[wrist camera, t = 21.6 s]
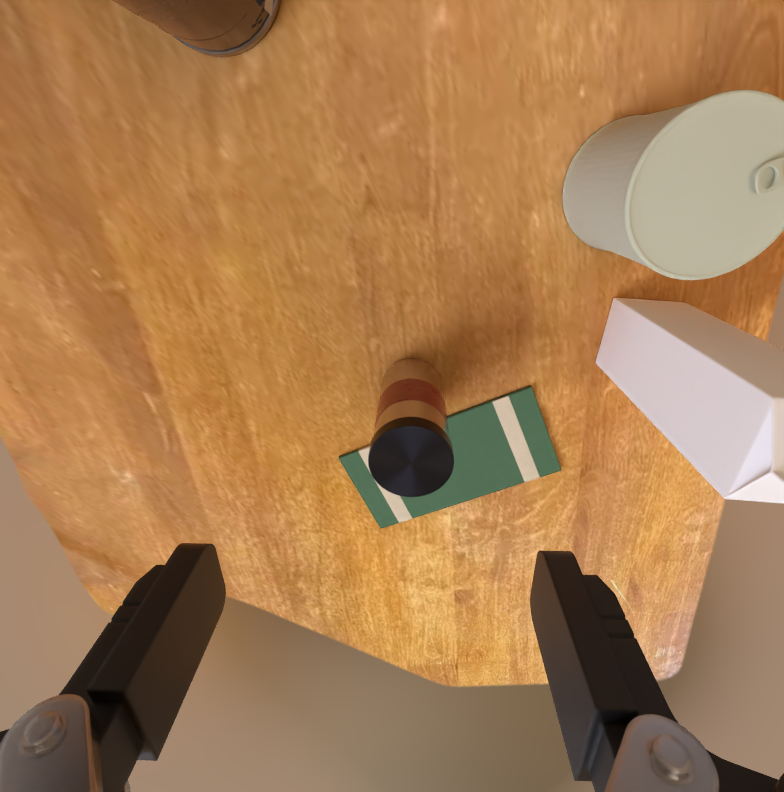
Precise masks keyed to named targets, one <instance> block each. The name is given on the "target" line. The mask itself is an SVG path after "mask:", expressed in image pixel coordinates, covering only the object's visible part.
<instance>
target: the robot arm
mask: <svg viewBox="0 0 784 792" xmlns="http://www.w3.org/2000/svg"><path fill="white" fill-rule="evenodd" d="M112 1H114V2H116V3H117V4H119V5H121V6H123V7H124V8H126V9H128V10H130V11H131V12H133V13H135V14H137V15H138V16H140V17H142V18H144V19H145V20H147V21H149V22H151V23H152V24H154V25H156V26H158V27H159V28H161V29H162V30H164V31H166V32H167V33H169V34H171V35H173V36H174V37H175V38H176V39H178V40H179V41H181V42H182V43H183V44H185V45H187V46H189V47H191V48H192V49H194V50H196V51H198V52H201V53H203V54H207V55H211V56H217V57H228V56H234V55H238V54H241V53H243V52H245V51H247V50H249V49H250V48H252V47H253V46H255V45H256V44H257V43H258V42H259V41H260V40H261V39H262V38H263V37H264V36H265V34H266V33H267V32H268V30H269V29H270V27H271V25H272V23H273V21H274V19H275V17H276V14H277V12H278V8H279V5H280V1H281V0H112ZM225 595H226V589H225V583H224V579H223V576H222V572H221V568H220V564H219V560H218V556H217V552H216V549H215V547H214V545H213V544H195V543H182V544H180V545H178V546H177V547H176V549H175V550H174V552H173V553H172V555H171V557H170V558H169V560H168V561H167V563H166V564H165V565H156V566H155V567H153V568H152V569H151V570H150V571H149V572H147V573H146V574H145V575H144V576H143V577H142V578H140V579H139V580H138V581H137V582H136V583H135V585H134V586H133V588H132V589H131V591H130V592H129V594H128V595H127V597H126V598H125V599H124V601H123V605H122V606H120V607H119V608H118V610H117V611H116V613H115V614H114V616H113V617H112V621H111V623H108V625H107V626H106V627H105V629H104V630H103V632H102V633H101V635H100V636H99V638H98V639H97V641H96V642H95V644H94V645H93V647H92V648H91V650H90V651H89V653H88V654H87V655H86V657H85V659H84V660H83V661H82V663H81V664H80V666H79V667H78V669H77V670H76V672H75V673H74V675H73V676H72V677H71V679H70V680H69V682H68V684H67V685H66V686H65V688H64V689H63V690H62V692H61V693H60V694H59V695H58V696H55V697H52V698H49V699H47V700H45V701H43V702H41V703H39V704H37V705H36V706H34V707H33V708H32V709H30V710H29V711H27V712H26V713H25V714H24V715H23V716H21V717H20V719H18V720H17V721H16V722H15V723H14V725H13V726H12V727H11V728H10V729H8V730H5V731H1V732H0V792H130V786H129V782H128V778H129V776H130V774H131V772H132V770H133V767H134V765H135V763H136V761H137V760H153V761H155V760H156V761H157V759H158V757H159V755H160V752H161V750H162V748H163V746H164V743H165V741H166V739H167V737H168V734H169V732H170V729H171V727H172V725H173V723H174V720H175V718H176V716H177V714H178V711H179V709H180V706H181V705H182V702H183V700H184V698H185V695H186V693H187V691H188V688H189V686H190V684H191V682H192V680H193V677H194V675H195V673H196V670H197V668H198V666H199V664H200V661H201V659H202V657H203V654H204V652H205V650H206V647H207V645H208V643H209V641H210V638H211V636H212V634H213V632H214V629H215V627H216V625H217V622H218V620H219V618H220V616H221V613H222V610H223V607H224V603H225ZM530 606H531V615H532V621H533V625H534V629H535V632H536V636H537V640H538V644H539V647H540V651H541V655H542V659H543V663H544V666H545V670H546V674H547V678H548V682H549V685H550V689H551V693H552V697H553V700H554V704H555V708H556V712H557V716H558V719H559V723H560V727H561V731H562V735H563V738H564V742H565V746H566V749H567V753H568V757H569V761H570V765H571V769H572V772H573V776H574V780H575V781H592V783H593V787H594V790H595V792H784V774H783V775H782V776H781V777H780V779H779V780H777V779H775V778H772V777H769V776H766V775H764V774H761V773H758V772H756V771H753V770H750V769H747V768H745V767H742V766H739V765H737V764H734V763H731V762H729V761H726V760H724V759H721V758H720V757H718V756H716V755H714V754H712V753H711V752H709V751H708V750H706V749H705V748H704V746H703V745H702V744H701V743H700V741H698V739H697V738H696V737H695V736H694V735H693V734H691V733H690V732H689V731H688V730H686V728H684V727H682V726H681V725H680V724H679V723H678V722H677V720H676V719H675V718H674V716H673V714H672V712H671V711H670V709H669V707H668V705H667V703H666V700H665V698H664V696H663V694H662V692H661V690H660V688H659V686H658V684H657V682H656V679H655V677H654V675H653V673H652V671H651V669H650V667H649V665H648V663H647V660H646V658H645V656H644V654H643V652H642V650H641V648H640V646H639V644H638V642H637V639H635V638H634V633H633V631H632V629H631V627H630V625H629V623H628V621H627V620H626V619H625V614H624V612H623V610H622V608H621V606H620V604H619V602H618V600H617V597H616V595H615V594H614V593H613V592H612V590H611V589H610V588H609V587H608V586H607V585H606V584H605V583H604V582H603V581H602V580H601V579H600V578H599V577H598V576H597V575H582V572H581V570H580V567H579V565H578V563H577V560H576V558H575V556H574V554H573V553H572V552H571V551H539V552H538V554H537V558H536V564H535V570H534V576H533V583H532V589H531V596H530Z"/></svg>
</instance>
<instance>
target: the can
mask: <svg viewBox="0 0 784 792" xmlns="http://www.w3.org/2000/svg"><path fill="white" fill-rule="evenodd" d="M563 209H564V214H565V217H566V220H567V222H568V224H569V226H570V228H571V230H572V231H573V232H574V234H575V235H576V236H577V237H578V238H579V239H580V240H582V241H583V242H584V243H586V244H587V245H589V246H591V247H594V248H597V249H600V250H605V251H611V252H613V253H616V254H619V255H621V256H623V257H626V258H628V259H631V260H633V261H636V262H638V263H640V264H642V265H645V266H647V267H649V268H651V269H652V270H654V271H656V272H657V273H659V274H662V275H664V276H667V277H670V278H674V279H681V280H700V279H707V278H712V277H716V276H719V275H722V274H725V273H728V272H730V271H732V270H735V269H737V268H739V267H740V266H742V265H744V264H746V263H747V262H749V261H750V260H752V259H753V258H755V257H756V256H758V255H759V254H760V253H761V252H763V251H764V250H765V249H766V248H767V247H768V246H769V245H770V244H771V243H772V242H773V241H775V240H776V238H777V237H778V236H779V235H780V234H781V233H782V231H783V230H784V101H783V100H782V99H780V98H778V97H776V96H774V95H771V94H769V93H766V92H761V91H756V90H733V91H727V92H723V93H719V94H715V95H713V96H710V97H707V98H705V99H703V100H700V101H697V102H694V103H690V104H686V105H682V106H679V107H675V108H671V109H667V110H664V111H660V112H656V113H652V114H647V115H633V116H628V117H624V118H620V119H618V120H615V121H613V122H611V123H609V124H607V125H605V126H604V127H602V128H601V129H599V130H598V131H597V132H595V133H594V134H593V135H592V136H591V137H590V138H589V139H588V140H587V141H586V142H585V143H584V144H583V145H582V146H581V148H580V149H579V150H578V152H577V153H576V155H575V157H574V158H573V160H572V162H571V164H570V166H569V168H568V171H567V174H566V177H565V181H564V186H563Z"/></svg>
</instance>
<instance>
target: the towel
mask: <svg viewBox="0 0 784 792" xmlns="http://www.w3.org/2000/svg"><path fill="white" fill-rule="evenodd" d="M447 423H448V433H449V438H450V440H451V443H452V448H453V455H454V468H453V472H452V474H451V476H450V478H449V479H448V481H447V482H446V483H445V484H444V485H443V486H442V487H441V488H440V489H438V490H437V491H435V492H433V493H431V494H428V495H425V496H420V497H403V496H399V495H395V494H393V493H390V492H388V491H387V490H385V489H384V488H382V487H381V486H380V485H379V484H378V483H377V482H376V481H375V480H374V478H373V476H372V475H371V472H370V470H369V466H368V456H369V450H370V445H369V446H366V447H363V448H361V449H358V450H355V451H353V452H350V453H347V454H345V455H342V456H339V460H340V461H341V463H342V465H343V466H344V468H345V470H346V471H347V473H348V475H349V476H350V478H351V480H352V481H353V483H354V485H355V486H356V488H357V490H358V491H359V493H360V495H361V496H362V498H363V500H364V501H365V503H366V505H367V506H368V508H369V510H370V511H371V513H372V515H373V516H374V518H375V520H376V521H377V523H378V525H379V526H380V528H384V527H387V526H390V525H394V524H397V523H400V522H403V521H406V520H409V519H412V518H415V517H418V516H421V515H425V514H428V513H431V512H434V511H437V510H440V509H443V508H446V507H449V506H452V505H456V504H459V503H462V502H465V501H468V500H471V499H474V498H477V497H480V496H483V495H487V494H490V493H493V492H496V491H499V490H502V489H505V488H508V487H511V486H514V485H518V484H521V483H524V482H527V481H530V480H533V479H537V478H540V477H542V476H545V475H549V474H552V473H555V472H558V471H561V467H560V465H559V462H558V459H557V456H556V453H555V451H554V448H553V445H552V442H551V439H550V437H549V434H548V431H547V428H546V425H545V423H544V420H543V417H542V414H541V411H540V409H539V406H538V403H537V400H536V398H535V395H534V392H533V389H532V387H531V386H528V387H526V388H523V389H520V390H517V391H515V392H512V393H509V394H507V395H504V396H501V397H499V398H496V399H493V400H490V401H488V402H485V403H482V404H480V405H477V406H474V407H472V408H469V409H466V410H463V411H461V412H458V413H455V414H453V415H450V416H447Z"/></svg>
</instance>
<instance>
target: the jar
mask: <svg viewBox="0 0 784 792" xmlns="http://www.w3.org/2000/svg"><path fill="white" fill-rule="evenodd" d="M368 466H369V470H370V472H371V475H372V476H373V478H374V480H375V481H376V482H377V483H378V484H379V485H380V486H381V487H382V488H384V489H385V490H387V491H388V492H390V493H393V494H395V495H399V496H403V497H420V496H425V495H428V494H431V493H433V492H435V491H437V490H438V489H440V488H441V487H442V486H443V485H444V484H445V483H446V482H447V481H448V479H449V478H450V476H451V474H452V472H453V468H454V455H453V448H452V443H451V440H450V438H449V433H448V423H447V415H446V407H445V401H444V395H443V387H442V380H441V377H440V375H439V373H438V371H437V370H436V369H435V368H434V367H433V366H432V365H431V364H429V363H428V362H426V361H423V360H420V359H404V360H401V361H398V362H396V363H395V364H393V365H392V366H391V367H390V368H389V369H388V370H387V371H386V373H385V375H384V377H383V381H382V387H381V393H380V400H379V404H378V410H377V416H376V423H375V432H374V437H373V439H372V441H371V445H370V450H369V456H368Z"/></svg>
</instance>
